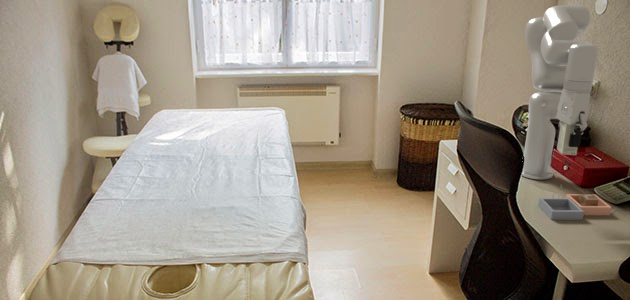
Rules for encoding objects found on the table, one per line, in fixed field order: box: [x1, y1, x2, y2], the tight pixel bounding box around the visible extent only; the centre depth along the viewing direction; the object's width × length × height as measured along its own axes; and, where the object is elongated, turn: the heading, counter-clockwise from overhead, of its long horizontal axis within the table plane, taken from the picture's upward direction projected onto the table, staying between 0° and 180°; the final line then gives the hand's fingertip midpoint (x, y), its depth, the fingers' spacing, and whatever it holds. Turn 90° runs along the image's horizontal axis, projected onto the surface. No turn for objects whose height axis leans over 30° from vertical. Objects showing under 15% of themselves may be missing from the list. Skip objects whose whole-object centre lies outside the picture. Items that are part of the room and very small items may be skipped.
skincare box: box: [556, 121, 580, 156], centre depth 153 cm, size 6×4×12 cm
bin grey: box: [537, 197, 585, 221], centre depth 156 cm, size 10×10×4 cm
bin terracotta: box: [565, 193, 612, 216], centre depth 159 cm, size 10×10×4 cm
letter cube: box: [578, 193, 598, 206], centre depth 159 cm, size 4×4×4 cm
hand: (568, 142), depth 154 cm, fingers closed on skincare box, 6 cm apart
